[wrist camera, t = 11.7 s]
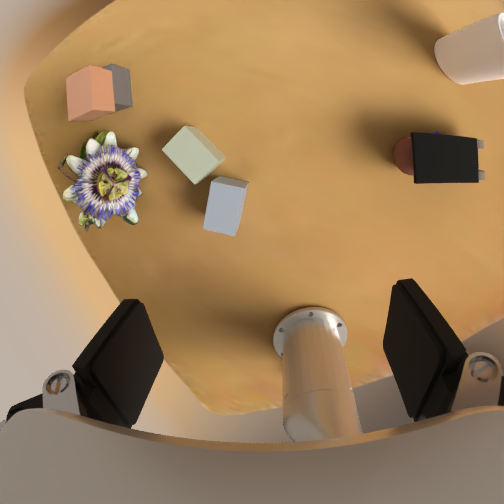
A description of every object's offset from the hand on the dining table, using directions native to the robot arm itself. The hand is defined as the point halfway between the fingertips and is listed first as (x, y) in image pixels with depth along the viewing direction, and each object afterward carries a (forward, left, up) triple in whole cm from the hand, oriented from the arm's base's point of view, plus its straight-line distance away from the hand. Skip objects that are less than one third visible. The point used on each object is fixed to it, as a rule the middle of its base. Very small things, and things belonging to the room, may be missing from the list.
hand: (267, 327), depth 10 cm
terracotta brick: (+17, +20, -23) cm, 35 cm away
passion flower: (+5, +23, -29) cm, 37 cm away
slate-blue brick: (-1, +6, -28) cm, 29 cm away
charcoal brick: (+18, +20, -28) cm, 39 cm away
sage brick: (+6, +9, -28) cm, 30 cm away
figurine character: (+4, -24, -29) cm, 38 cm away
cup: (+20, -31, -28) cm, 47 cm away
